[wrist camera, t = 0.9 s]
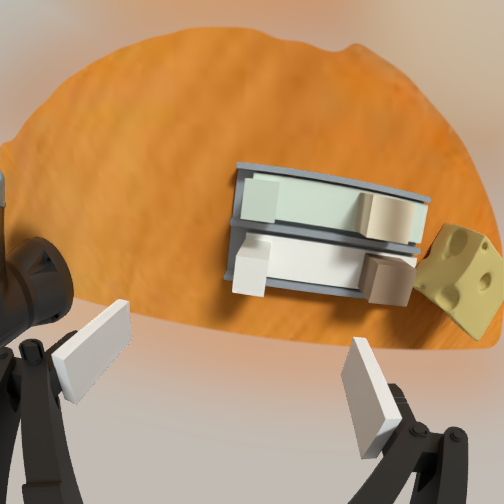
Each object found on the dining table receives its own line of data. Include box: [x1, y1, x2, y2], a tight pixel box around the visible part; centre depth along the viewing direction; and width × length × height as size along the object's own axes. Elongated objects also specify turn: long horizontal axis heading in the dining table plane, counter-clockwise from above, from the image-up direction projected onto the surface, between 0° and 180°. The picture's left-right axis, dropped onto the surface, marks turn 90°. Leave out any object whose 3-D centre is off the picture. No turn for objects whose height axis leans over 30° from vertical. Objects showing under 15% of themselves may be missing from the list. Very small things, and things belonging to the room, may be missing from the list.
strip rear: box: [232, 231, 417, 297], centre depth 31 cm, size 22×5×9 cm, turn 83°
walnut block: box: [358, 253, 417, 307], centre depth 31 cm, size 5×4×5 cm
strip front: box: [240, 173, 428, 244], centre depth 29 cm, size 22×5×9 cm, turn 83°
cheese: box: [413, 223, 504, 341], centre depth 30 cm, size 10×11×10 cm
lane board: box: [224, 162, 431, 299], centre depth 34 cm, size 24×14×3 cm, turn 83°
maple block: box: [354, 192, 415, 245], centre depth 30 cm, size 5×4×5 cm
